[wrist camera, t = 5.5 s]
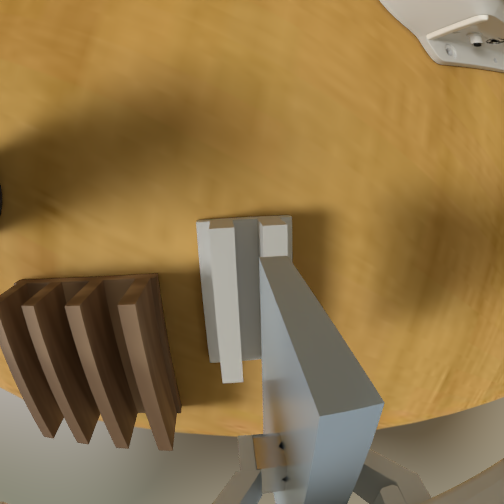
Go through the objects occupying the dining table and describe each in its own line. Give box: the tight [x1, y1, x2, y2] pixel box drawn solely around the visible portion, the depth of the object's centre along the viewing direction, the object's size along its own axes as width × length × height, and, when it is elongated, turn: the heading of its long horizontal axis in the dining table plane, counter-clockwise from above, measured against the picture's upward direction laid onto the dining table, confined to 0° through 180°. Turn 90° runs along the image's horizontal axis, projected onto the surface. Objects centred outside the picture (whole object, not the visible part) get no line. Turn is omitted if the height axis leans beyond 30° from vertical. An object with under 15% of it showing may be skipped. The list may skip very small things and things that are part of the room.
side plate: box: [259, 256, 384, 504], centre depth 10 cm, size 1×11×9 cm, turn 2°
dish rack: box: [0, 273, 182, 451], centre depth 22 cm, size 14×14×6 cm
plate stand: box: [196, 215, 292, 383], centre depth 23 cm, size 7×12×4 cm, turn 2°
